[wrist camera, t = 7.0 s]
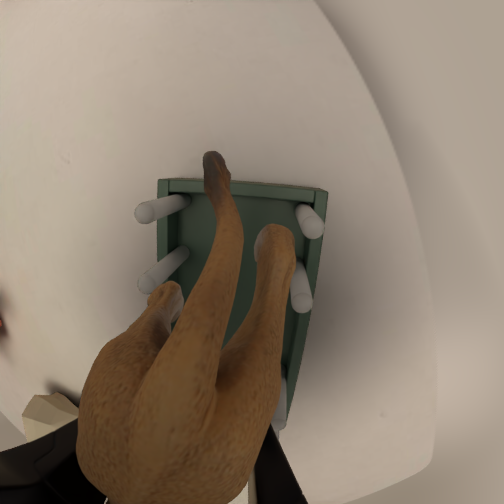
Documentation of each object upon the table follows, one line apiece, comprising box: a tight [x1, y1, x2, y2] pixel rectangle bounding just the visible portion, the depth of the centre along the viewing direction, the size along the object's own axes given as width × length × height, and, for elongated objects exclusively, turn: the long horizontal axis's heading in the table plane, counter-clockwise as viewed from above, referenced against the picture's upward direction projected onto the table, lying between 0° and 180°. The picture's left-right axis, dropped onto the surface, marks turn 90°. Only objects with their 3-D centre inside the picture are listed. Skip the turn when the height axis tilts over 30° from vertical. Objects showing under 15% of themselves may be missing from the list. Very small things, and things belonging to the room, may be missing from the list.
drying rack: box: [135, 178, 328, 440], centre depth 14 cm, size 8×15×6 cm, turn 176°
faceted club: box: [22, 392, 79, 442], centre depth 18 cm, size 9×9×25 cm
